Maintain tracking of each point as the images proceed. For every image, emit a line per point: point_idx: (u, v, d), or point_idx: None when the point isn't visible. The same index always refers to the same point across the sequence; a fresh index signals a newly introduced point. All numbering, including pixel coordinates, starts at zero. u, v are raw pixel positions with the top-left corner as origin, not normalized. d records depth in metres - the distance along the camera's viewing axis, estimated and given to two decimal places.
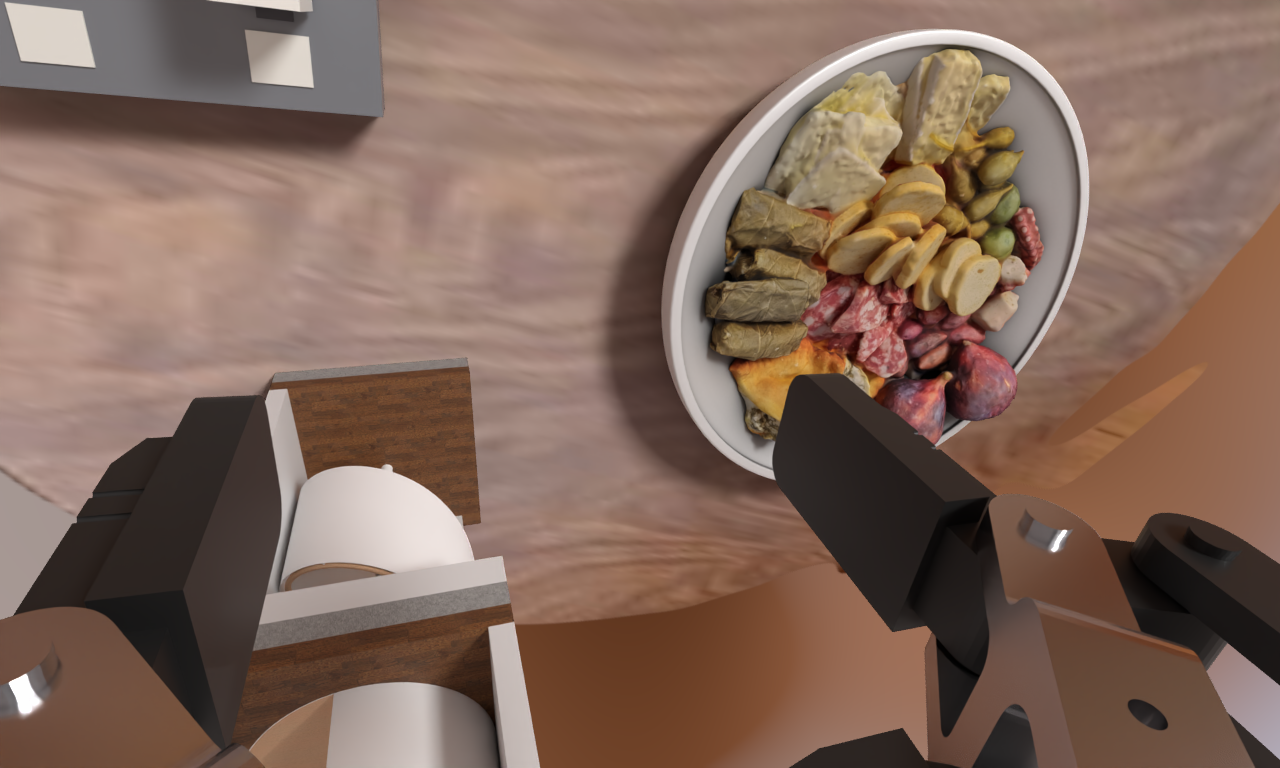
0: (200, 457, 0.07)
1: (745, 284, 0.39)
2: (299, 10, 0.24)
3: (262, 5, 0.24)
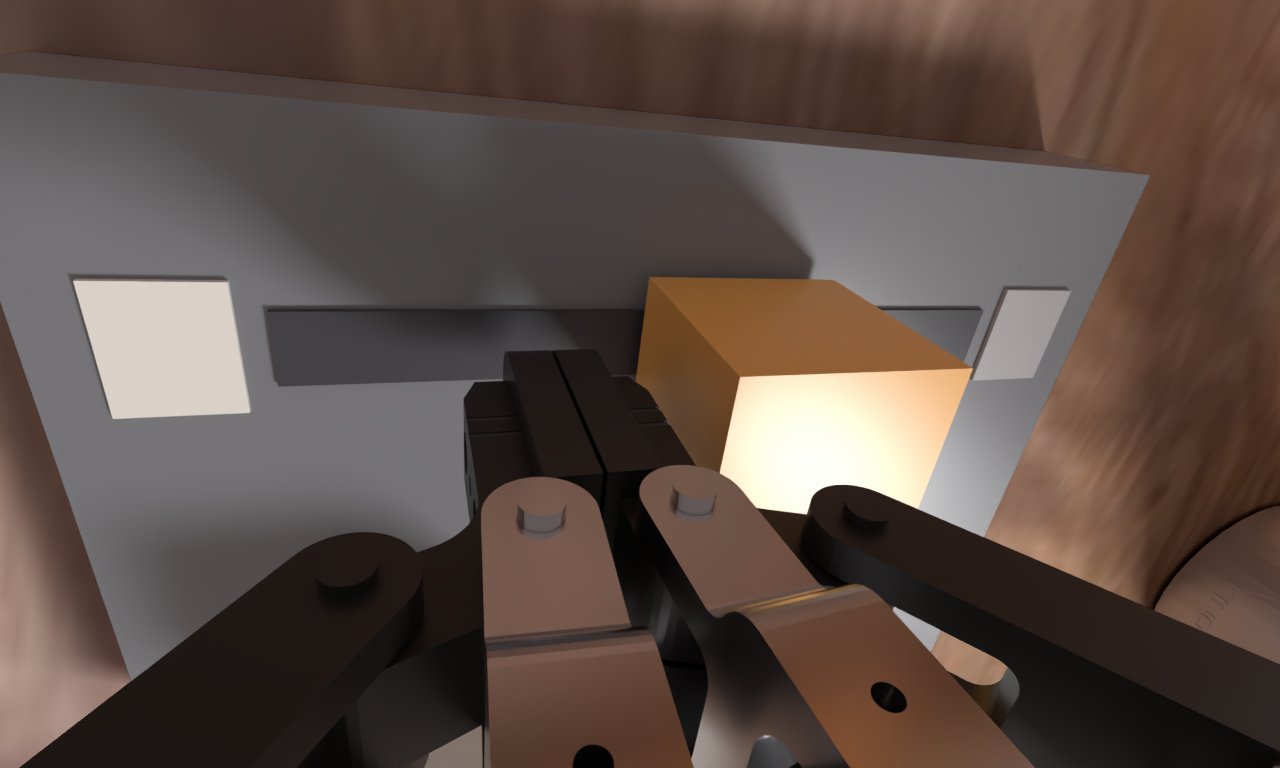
0: (545, 391, 0.09)
1: None
2: None
3: None
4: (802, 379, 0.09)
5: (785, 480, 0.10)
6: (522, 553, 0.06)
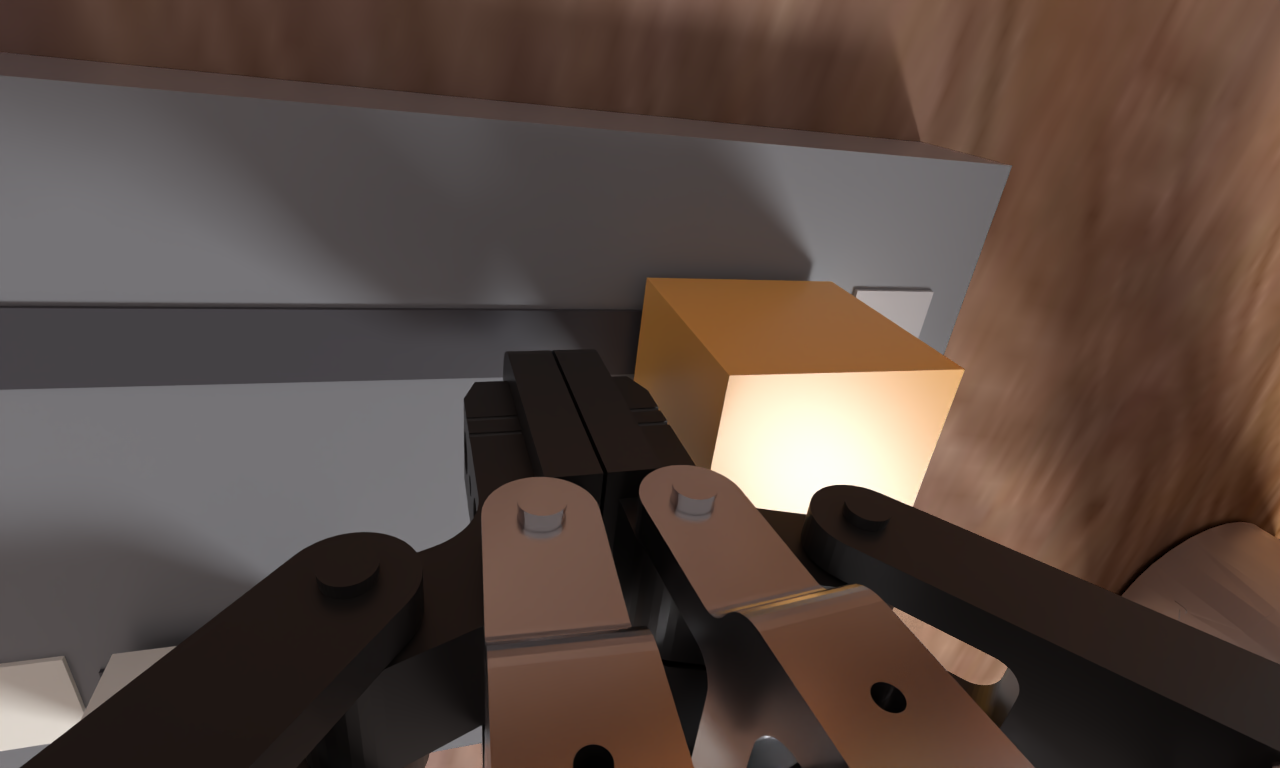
0: (545, 391, 0.09)
1: None
2: None
3: None
4: (792, 379, 0.09)
5: (776, 479, 0.10)
6: (522, 553, 0.06)
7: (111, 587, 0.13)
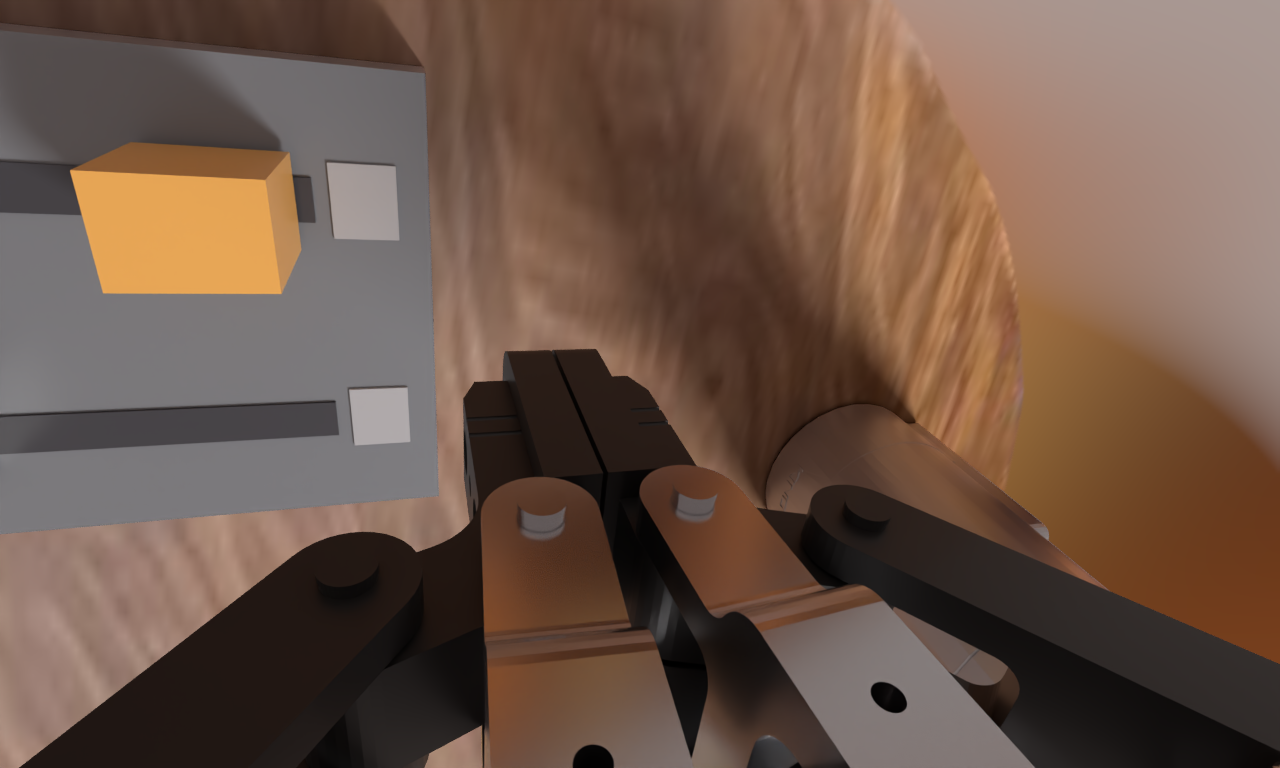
0: (545, 391, 0.09)
1: None
2: None
3: None
4: (122, 176, 0.16)
5: (147, 249, 0.16)
6: (522, 553, 0.06)
7: None
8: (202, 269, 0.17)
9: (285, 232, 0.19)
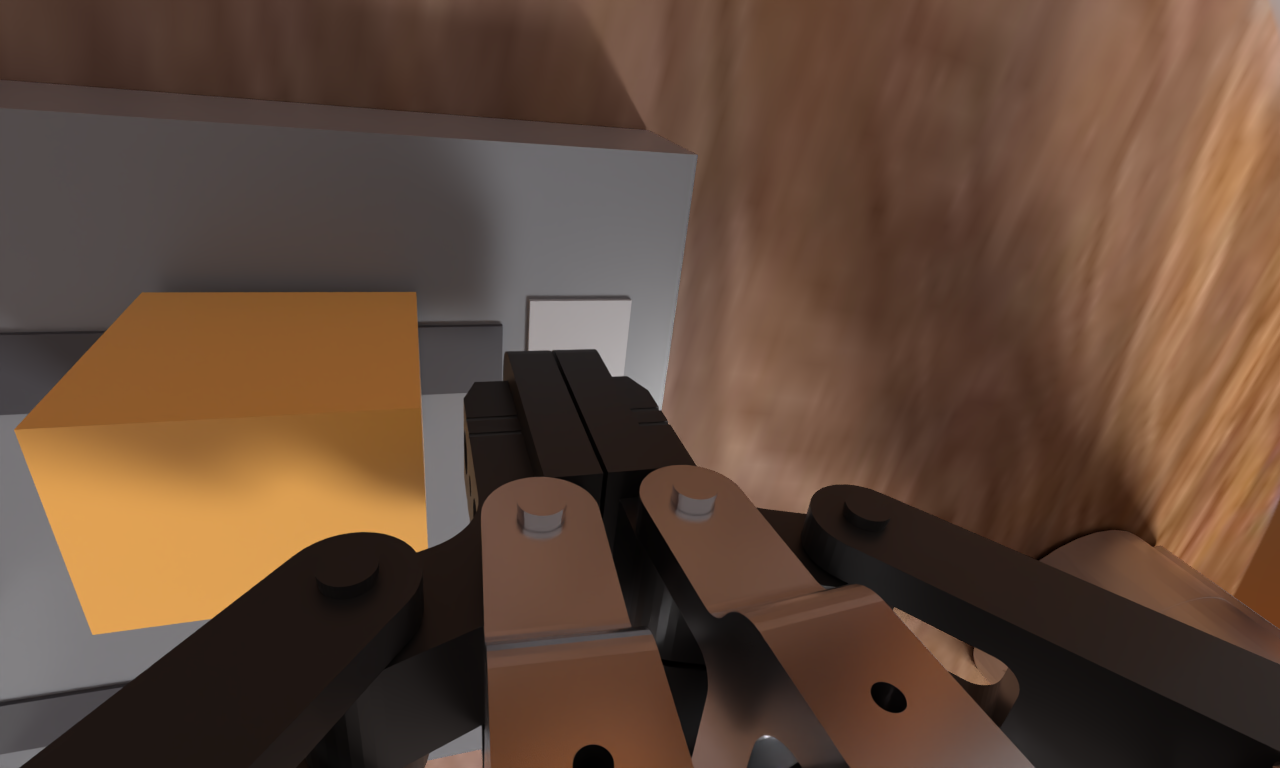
0: (545, 391, 0.09)
1: None
2: None
3: None
4: (129, 429, 0.07)
5: (182, 552, 0.08)
6: (522, 553, 0.06)
7: None
8: None
9: (423, 451, 0.10)
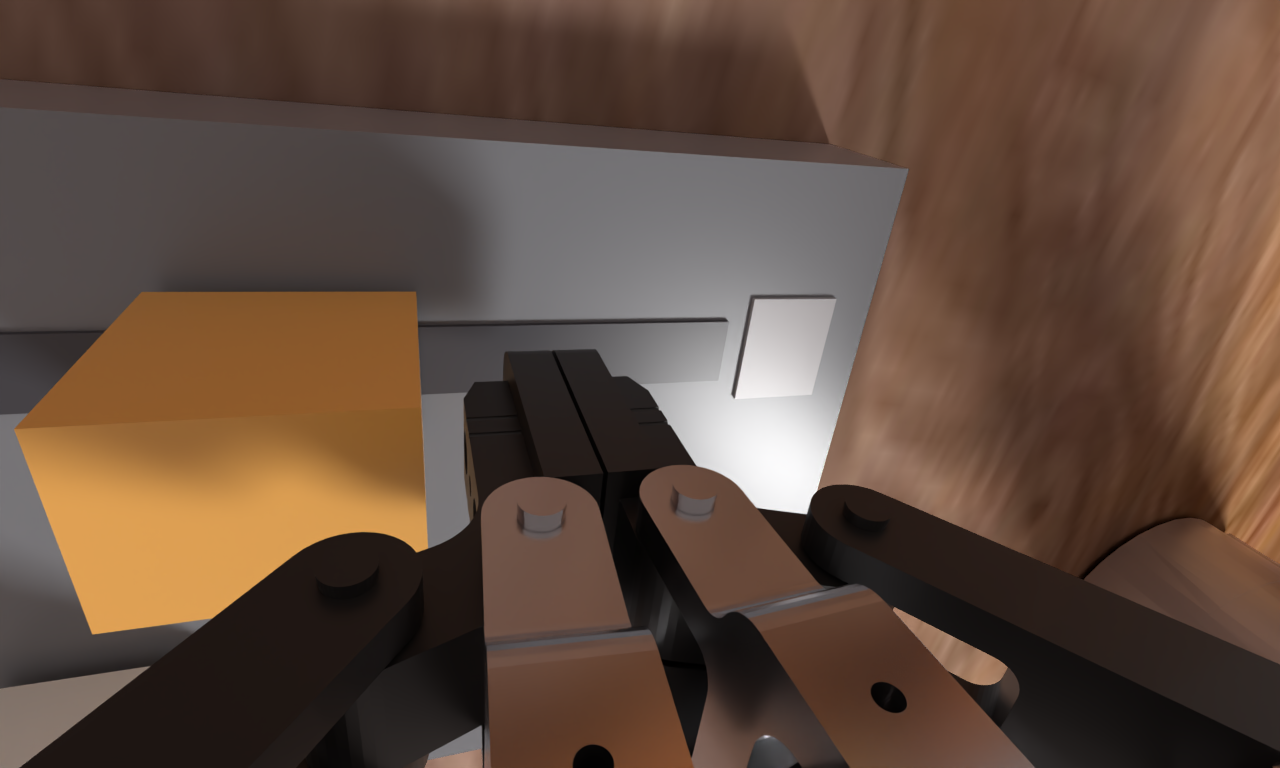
0: (545, 391, 0.09)
1: None
2: None
3: None
4: (130, 429, 0.07)
5: (182, 552, 0.08)
6: (522, 553, 0.06)
7: None
8: None
9: (423, 451, 0.10)
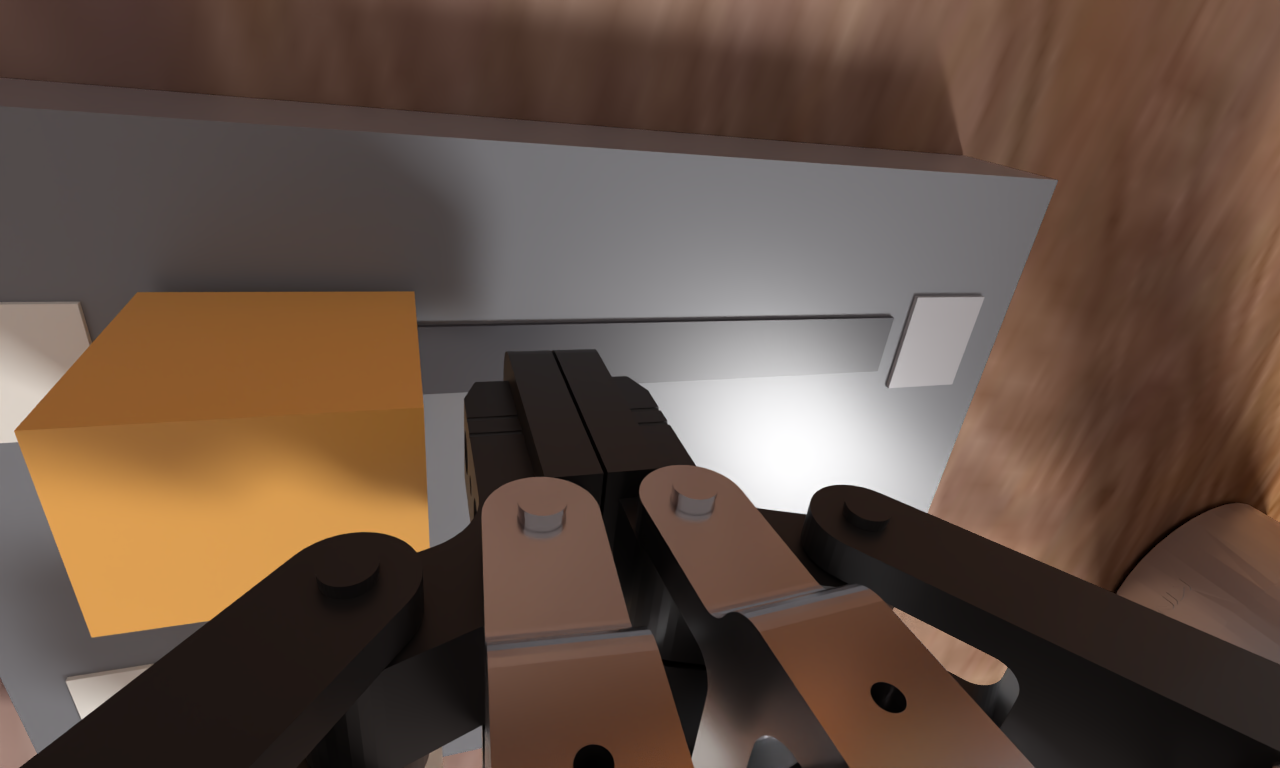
0: (545, 391, 0.09)
1: None
2: None
3: None
4: (131, 430, 0.07)
5: (183, 553, 0.08)
6: (522, 553, 0.06)
7: None
8: None
9: None
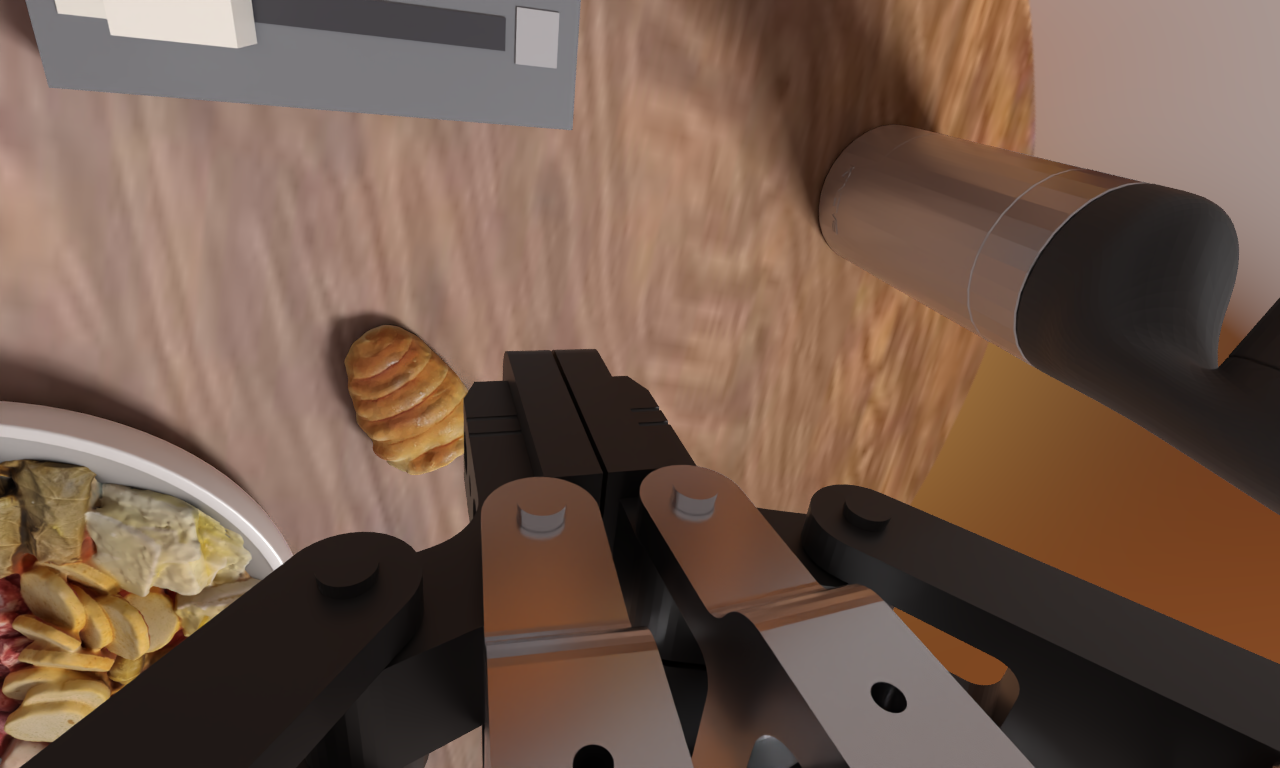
0: (545, 391, 0.09)
1: None
2: (112, 34, 0.24)
3: None
4: None
5: None
6: (522, 553, 0.06)
7: None
8: None
9: None
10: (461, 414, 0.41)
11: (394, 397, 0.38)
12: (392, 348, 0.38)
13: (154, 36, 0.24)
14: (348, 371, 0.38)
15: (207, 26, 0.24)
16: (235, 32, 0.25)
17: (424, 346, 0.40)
